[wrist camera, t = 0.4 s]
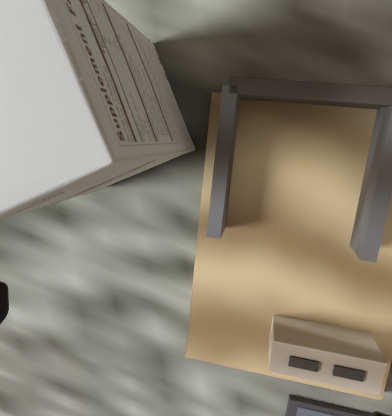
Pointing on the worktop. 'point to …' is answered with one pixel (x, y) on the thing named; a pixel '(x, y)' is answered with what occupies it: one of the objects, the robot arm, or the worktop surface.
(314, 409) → the phone
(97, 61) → the supplement box
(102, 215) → the worktop surface
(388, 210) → the dock station
